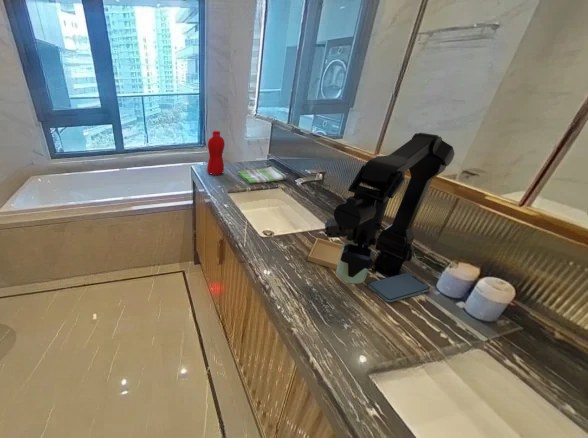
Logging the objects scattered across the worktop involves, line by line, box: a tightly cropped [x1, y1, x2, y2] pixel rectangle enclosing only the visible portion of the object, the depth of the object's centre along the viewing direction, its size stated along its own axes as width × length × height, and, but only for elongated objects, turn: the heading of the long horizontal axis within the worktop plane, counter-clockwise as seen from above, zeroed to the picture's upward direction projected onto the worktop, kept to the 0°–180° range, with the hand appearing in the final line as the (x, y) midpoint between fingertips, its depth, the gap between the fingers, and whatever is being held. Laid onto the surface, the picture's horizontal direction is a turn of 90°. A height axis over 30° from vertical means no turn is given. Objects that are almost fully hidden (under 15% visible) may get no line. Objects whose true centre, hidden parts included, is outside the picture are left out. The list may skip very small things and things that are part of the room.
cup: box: [335, 241, 375, 284], centre depth 72 cm, size 7×7×8 cm
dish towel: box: [237, 166, 287, 185], centre depth 164 cm, size 17×23×4 cm
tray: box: [307, 237, 344, 270], centre depth 96 cm, size 15×13×2 cm
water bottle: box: [206, 130, 225, 176], centre depth 167 cm, size 9×11×25 cm
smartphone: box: [367, 272, 430, 303], centre depth 82 cm, size 8×2×15 cm
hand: (352, 268), depth 73 cm, fingers closed on cup, 7 cm apart
